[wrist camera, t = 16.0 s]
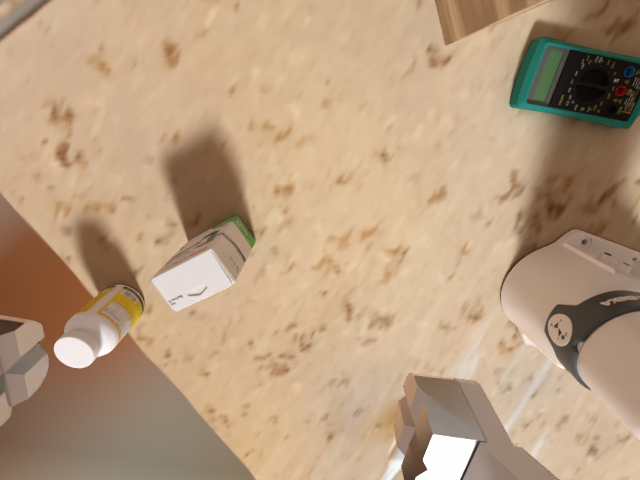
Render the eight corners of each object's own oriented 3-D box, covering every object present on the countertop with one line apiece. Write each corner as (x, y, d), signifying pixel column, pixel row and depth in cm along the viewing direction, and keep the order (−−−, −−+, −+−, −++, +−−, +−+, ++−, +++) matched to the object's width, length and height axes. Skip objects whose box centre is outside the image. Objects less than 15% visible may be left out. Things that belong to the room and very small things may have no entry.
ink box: (237, 212, 47) (211, 245, 36) (257, 242, 49) (238, 283, 38) (186, 240, 49) (146, 280, 38) (206, 268, 50) (174, 315, 39)
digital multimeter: (618, 129, 43) (638, 130, 40) (504, 106, 42) (517, 106, 40) (649, 64, 40) (672, 61, 38) (527, 38, 40) (543, 34, 37)
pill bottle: (97, 308, 53) (39, 361, 42) (110, 275, 51) (52, 321, 40) (138, 326, 54) (92, 381, 43) (152, 294, 52) (107, 344, 41)
